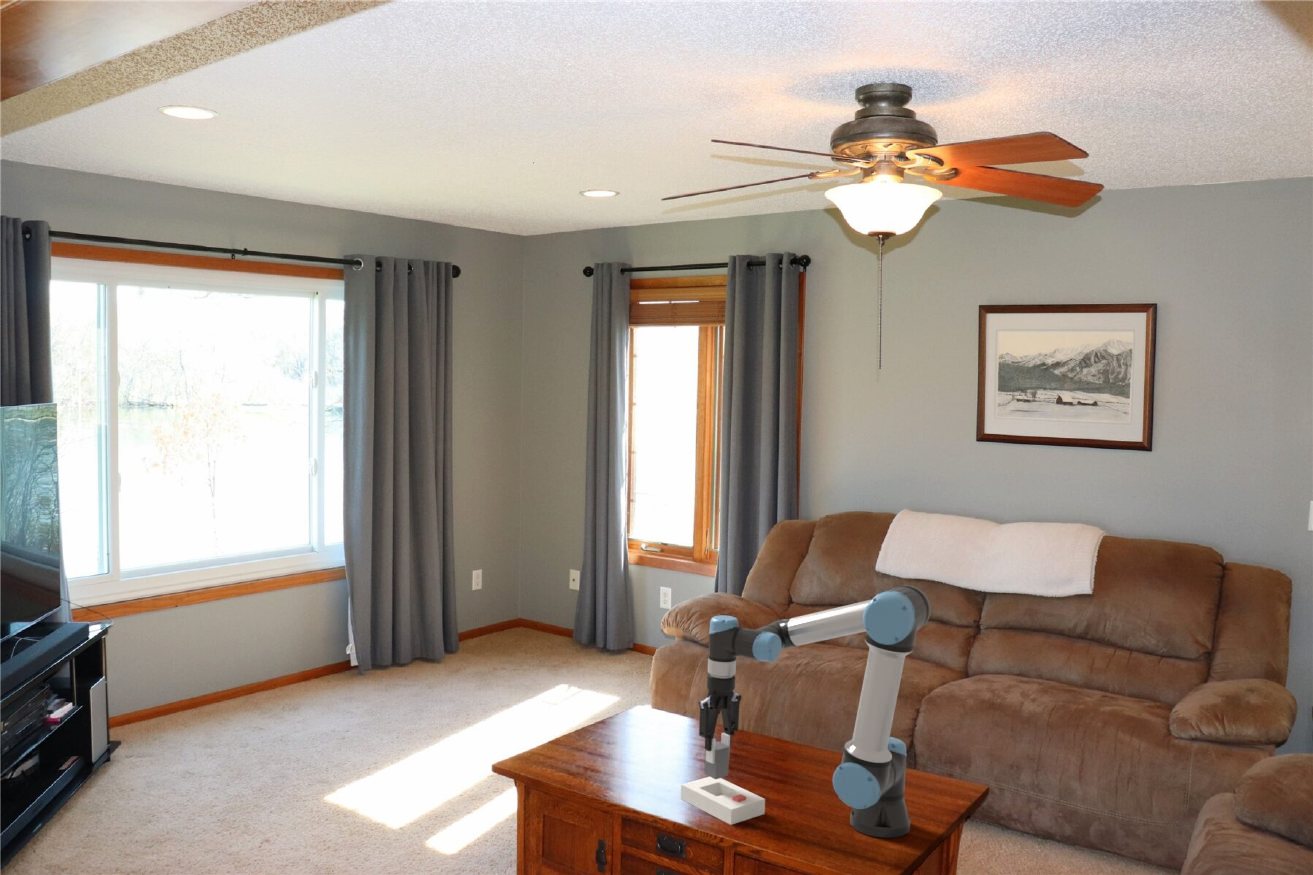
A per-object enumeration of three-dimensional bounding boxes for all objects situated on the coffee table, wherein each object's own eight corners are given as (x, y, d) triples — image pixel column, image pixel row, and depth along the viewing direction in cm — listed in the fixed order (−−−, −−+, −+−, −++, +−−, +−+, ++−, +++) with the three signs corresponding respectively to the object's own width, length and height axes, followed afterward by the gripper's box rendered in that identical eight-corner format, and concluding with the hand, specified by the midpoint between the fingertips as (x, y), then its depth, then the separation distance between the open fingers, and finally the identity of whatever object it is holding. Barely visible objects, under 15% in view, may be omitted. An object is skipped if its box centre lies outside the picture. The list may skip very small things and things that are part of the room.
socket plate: (764, 813, 274) (765, 795, 274) (730, 824, 267) (731, 806, 267) (714, 789, 290) (714, 772, 290) (680, 798, 282) (681, 781, 282)
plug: (728, 775, 280) (729, 746, 279) (715, 779, 277) (716, 750, 276) (717, 769, 283) (718, 741, 283) (704, 773, 280) (705, 744, 280)
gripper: (736, 666, 286) (732, 749, 288) (687, 675, 276) (683, 761, 277) (755, 672, 281) (750, 757, 282) (705, 682, 270) (701, 770, 271)
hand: (717, 759), depth 280 cm, fingers closed on plug, 4 cm apart
